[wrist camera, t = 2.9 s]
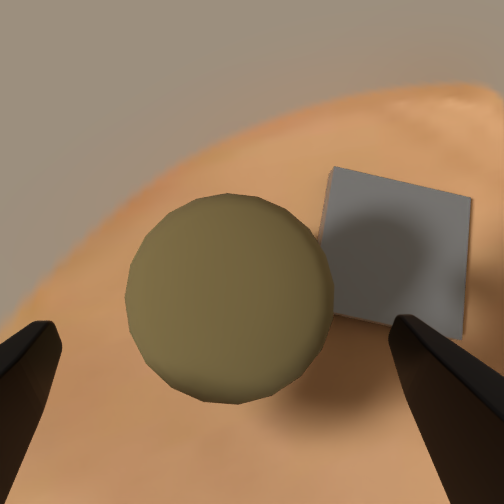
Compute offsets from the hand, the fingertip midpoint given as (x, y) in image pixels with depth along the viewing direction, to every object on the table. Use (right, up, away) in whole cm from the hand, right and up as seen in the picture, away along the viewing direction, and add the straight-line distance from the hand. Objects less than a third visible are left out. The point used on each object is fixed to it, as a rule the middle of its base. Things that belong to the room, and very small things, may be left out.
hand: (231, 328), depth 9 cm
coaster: (+8, +2, +10) cm, 13 cm away
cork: (-1, -1, +9) cm, 9 cm away
